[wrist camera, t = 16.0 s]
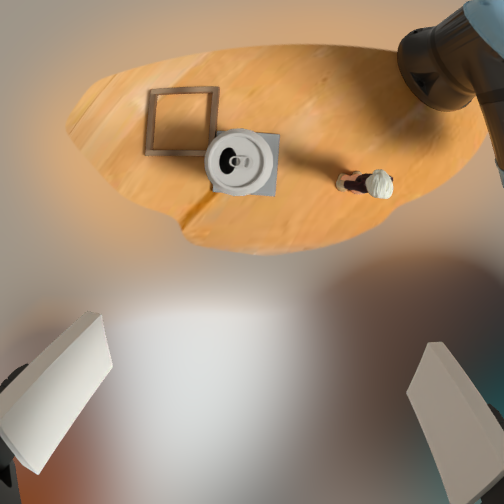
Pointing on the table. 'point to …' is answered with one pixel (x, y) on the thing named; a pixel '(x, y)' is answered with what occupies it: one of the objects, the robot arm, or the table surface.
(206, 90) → the brown square frame
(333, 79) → the table surface
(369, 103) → the table surface
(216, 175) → the can
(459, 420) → the robot arm
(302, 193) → the table surface
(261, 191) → the coaster
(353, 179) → the grandmother figurine
